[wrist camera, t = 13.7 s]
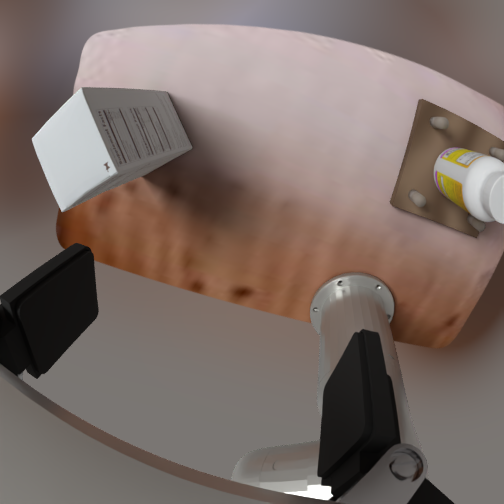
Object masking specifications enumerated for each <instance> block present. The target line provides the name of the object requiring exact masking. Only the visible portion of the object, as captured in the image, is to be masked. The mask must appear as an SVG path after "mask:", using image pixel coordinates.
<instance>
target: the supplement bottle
mask: <svg viewBox="0 0 504 504" xmlns="http://www.w3.org/2000/svg"><path fill="white" fill-rule="evenodd" d="M434 180H435V183H436V186H437V188H438V189H439V191H440V192H441V193H442V194H443V195H444V196H445V197H447V198H448V199H450V200H451V201H452V202H454V203H455V204H457V205H458V206H460V207H461V208H462V209H464V210H465V211H467V212H468V213H469V214H471V215H472V216H474V217H475V218H477V219H478V220H481V221H484V222H493V221H497V222H499V223H501V224H504V163H503V162H502V161H500V160H499V159H497V158H494V157H491V156H488V155H484V154H481V153H477V152H474V151H470V150H467V149H463V148H449V149H447V150H445V151H443V152H442V153H441V154H440V155H439V157H438V158H437V160H436V163H435V166H434Z"/></svg>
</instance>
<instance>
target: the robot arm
mask: <svg viewBox="0 0 504 504" xmlns="http://www.w3.org/2000/svg"><path fill="white" fill-rule="evenodd" d="M339 281H341V282H339ZM377 285H378V286H377ZM0 300H1V303H2V304H1V305H0V504H454V503H453V502H452V501H451V500H450V499H449V498H448V497H446V496H445V495H444V494H443V493H442V492H441V491H440V490H439V489H437V488H436V487H435V486H434V485H433V484H432V483H431V482H430V481H429V480H428V465H427V460H426V458H425V456H424V454H423V451H422V448H421V445H420V442H419V439H418V436H417V433H416V430H415V427H414V424H413V421H412V418H411V414H410V410H409V406H408V402H407V397H406V393H405V389H404V384H403V380H402V374H401V370H400V366H399V361H398V357H397V352H396V348H395V344H394V340H393V336H392V332H391V329H390V325H389V324H390V322H391V320H392V318H393V314H394V301H393V297H392V294H391V292H390V290H389V288H388V287H387V286H386V285H385V283H384V282H383V281H381V280H380V279H378V278H377V277H375V276H372V275H370V274H365V273H354V272H352V273H346V274H342V275H339V276H336V277H334V278H332V279H330V280H328V281H327V282H326V283H324V284H323V285H322V286H321V287H320V288H319V289H318V290H317V292H316V293H315V295H314V297H313V299H312V302H311V308H310V318H311V322H312V325H313V327H314V329H315V330H316V332H317V333H318V334H319V335H320V351H319V352H320V353H319V371H318V390H317V406H318V410H319V413H320V415H321V417H322V422H321V436H320V440H317V441H311V442H305V443H298V444H291V445H284V446H283V445H282V446H275V447H267V448H261V449H257V450H254V451H251V452H249V453H247V454H246V455H244V456H243V457H242V458H241V459H240V460H239V461H238V463H237V464H236V466H235V468H234V471H233V474H232V478H231V480H227V479H224V478H220V477H216V476H213V475H210V474H207V473H203V472H200V471H197V470H194V469H191V468H188V467H185V466H183V465H179V464H177V463H175V462H172V461H169V460H167V459H164V458H161V457H159V456H157V455H154V454H152V453H149V452H147V451H145V450H142V449H140V448H138V447H136V446H133V445H131V444H129V443H127V442H124V441H122V440H120V439H118V438H116V437H114V436H112V435H110V434H108V433H106V432H104V431H103V430H101V429H98V428H97V427H95V426H93V425H91V424H89V423H87V422H86V421H84V420H82V419H81V418H79V417H77V416H75V415H74V414H72V413H70V412H69V411H67V410H65V409H64V408H62V407H60V406H59V405H57V404H56V403H54V402H53V401H51V400H49V399H48V398H47V397H45V396H44V395H42V394H40V393H39V392H38V391H36V390H35V389H33V388H32V387H31V386H29V385H28V384H26V383H25V382H24V381H23V371H24V370H25V369H26V370H27V372H28V373H29V374H31V375H32V376H33V377H35V378H36V379H38V378H39V376H40V375H41V374H45V373H46V372H47V371H48V370H49V369H50V368H51V367H52V366H53V364H54V363H55V362H56V361H57V360H58V359H59V358H60V357H61V356H62V354H63V353H64V352H65V351H66V350H67V349H68V348H69V347H70V346H71V345H72V344H73V342H74V341H75V340H76V339H77V338H78V337H79V336H80V335H81V333H83V332H84V331H85V330H86V329H87V327H88V326H89V325H90V324H91V323H92V322H93V321H94V320H95V319H96V317H97V315H98V302H97V292H96V282H95V269H94V255H93V253H92V252H91V249H90V248H89V247H87V246H84V245H81V244H79V243H75V244H73V245H72V246H70V247H68V248H67V249H65V250H64V251H62V252H61V253H59V254H58V255H56V256H55V257H53V258H52V259H50V260H49V261H48V262H46V263H45V264H43V265H42V266H40V267H39V268H37V269H36V270H35V271H33V272H32V273H30V274H29V275H28V276H26V277H25V278H23V279H22V280H21V281H19V282H18V283H17V284H15V285H14V286H13V287H11V288H10V289H9V290H7V291H6V292H5V293H3V294H2V295H1V296H0Z"/></svg>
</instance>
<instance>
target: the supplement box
mask: <svg viewBox="0 0 504 504" xmlns="http://www.w3.org/2000/svg"><path fill="white" fill-rule="evenodd" d="M32 142H33V145H34V148H35V151H36V153H37V156H38V158H39V161H40V163H41V166H42V168H43V171H44V173H45V175H46V178H47V180H48V183H49V185H50V187H51V190H52V192H53V194H54V196H55V199H56V201H57V203H58V205H59V207H60V209H61V211H62V212H64V211H66V210H69V209H71V208H72V207H74V206H77V205H79V204H81V203H83V202H85V201H87V200H89V199H91V198H93V197H95V196H97V195H98V194H101V193H102V192H105V191H107V190H110V189H113V188H115V187H118V186H120V185H122V184H125V183H127V182H129V181H132V180H134V179H136V178H139V177H142V176H144V175H146V174H148V173H150V172H151V171H153V170H155V169H157V168H158V167H160V166H162V165H164V164H165V163H167V162H169V161H171V160H173V159H175V158H176V157H178V156H180V155H182V154H184V153H186V152H187V151H189V150H191V149H192V146H191V143H190V141H189V139H188V137H187V135H186V133H185V130H184V128H183V126H182V124H181V122H180V120H179V118H178V115H177V113H176V111H175V109H174V107H173V104H172V102H171V100H170V98H169V96H168V94H167V92H166V91H156V90H143V89H125V88H91V87H82V88H80V89H79V90H78V91H77V92H76V93H75V94H74V95H73V96H72V97H71V98H70V99H69V100H68V101H67V102H66V103H65V104H64V105H63V106H62V107H61V108H60V109H59V110H58V111H57V112H56V113H55V114H54V115H53V116H52V117H51V118H50V119H49V120H48V121H47V123H46V124H45V125H44V126H43V127H42V128H41V129H40V130H39V131H38V132H37V134H36V135H35V136H34V137H33V138H32Z"/></svg>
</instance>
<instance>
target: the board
mask: <svg viewBox="0 0 504 504" xmlns="http://www.w3.org/2000/svg"><path fill="white" fill-rule="evenodd" d="M449 148H463V149H467V150H470V151H474V152H477V153H481V154H484V155H488V156H491V157H494V158H497V159H499V160H500V161H502V162H503V161H504V141H502V140H501V139H499V138H497V137H496V136H494V135H492V134H491V133H489V132H487V131H486V130H484V129H482V128H480V127H478V126H477V125H475V124H473V123H471V122H469V121H467V120H465V119H464V118H462V117H460V116H458V115H456V114H454V113H452V112H450V111H448V110H446V109H443V108H441V107H439V106H437V105H435V104H433V103H430V102H428V101H426V100H423V99H421V100H419V101H418V106H417V110H416V114H415V118H414V122H413V126H412V130H411V134H410V137H409V141H408V145H407V148H406V152H405V155H404V159H403V162H402V166H401V169H400V172H399V176H398V179H397V182H396V185H395V188H394V191H393V194H392V197H391V200H390V204H391V205H392V206H394V207H397V208H400V209H403V210H406V211H409V212H411V213H414V214H417V215H420V216H422V217H425V218H428V219H430V220H433V221H436V222H438V223H441V224H443V225H446V226H449V227H451V228H454V229H456V230H459V231H461V232H464V233H466V234H468V235H471V236H473V237H476V238H477V236H478V234H479V231H480V232H481V231H483V230H484V229H485V222H484V221H481V220H478V219H477V218H475V217H474V216H472V215H471V214H469V213H468V212H467V211H465V210H464V209H462V208H461V207H460V206H458V205H457V204H455V203H454V202H452V201H451V200H450V199H448V198H447V197H445V196H444V195H443V194H442V193H441V192H440V191H439V189H438V188H437V186H436V183H435V180H434V166H435V163H436V160H437V158H438V157H439V155H440V154H441V153H442V152H443V151H445V150H447V149H449Z"/></svg>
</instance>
